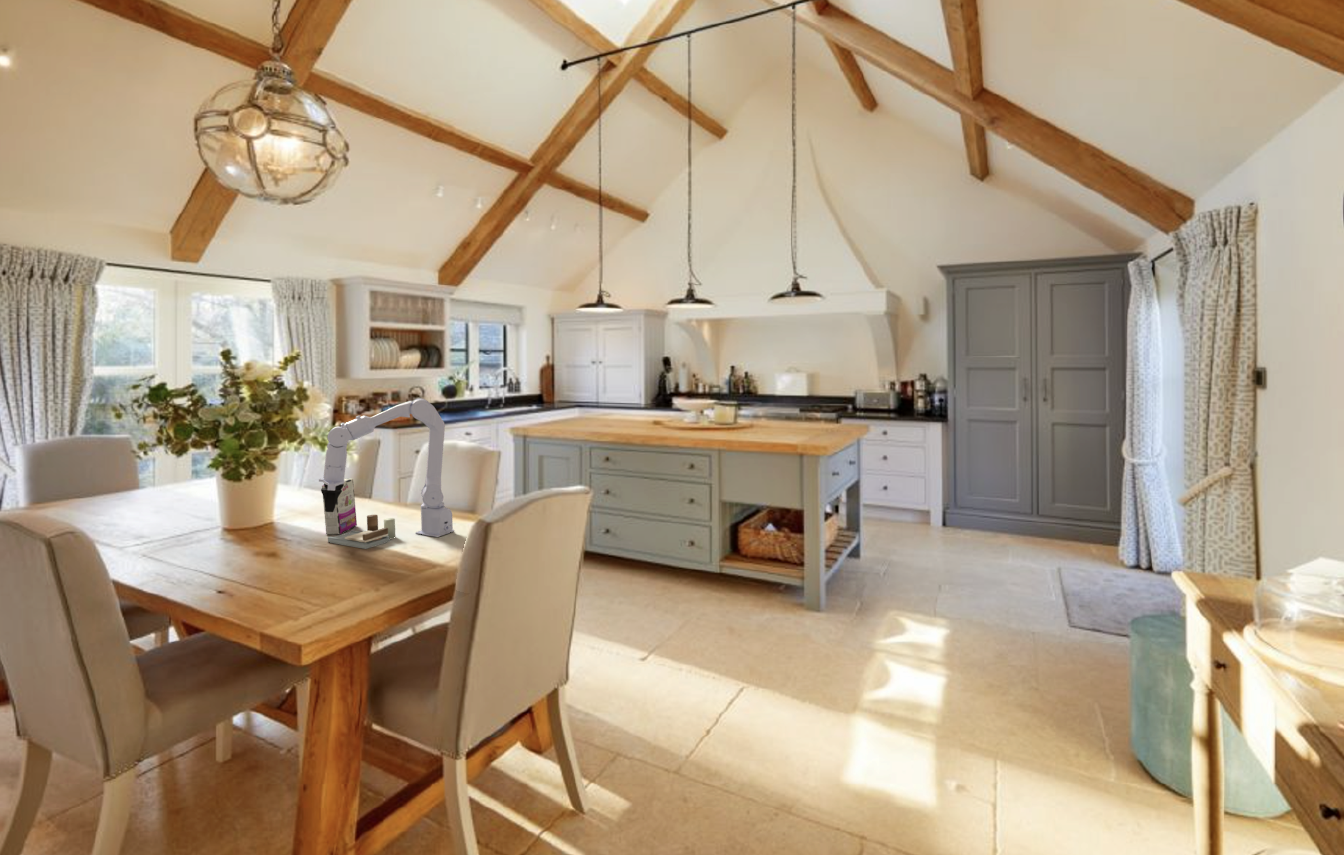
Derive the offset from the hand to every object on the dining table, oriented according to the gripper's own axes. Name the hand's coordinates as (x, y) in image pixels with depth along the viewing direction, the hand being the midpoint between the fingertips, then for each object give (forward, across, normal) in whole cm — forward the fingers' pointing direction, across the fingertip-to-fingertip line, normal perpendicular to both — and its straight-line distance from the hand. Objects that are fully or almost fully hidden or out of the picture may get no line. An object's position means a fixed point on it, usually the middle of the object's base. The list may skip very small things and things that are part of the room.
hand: (330, 509), depth 201 cm
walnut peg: (+9, -6, +13) cm, 17 cm away
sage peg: (+8, +1, +18) cm, 20 cm away
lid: (+7, +5, +11) cm, 14 cm away
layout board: (+9, +3, +9) cm, 13 cm away
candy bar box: (+10, -14, +3) cm, 17 cm away
